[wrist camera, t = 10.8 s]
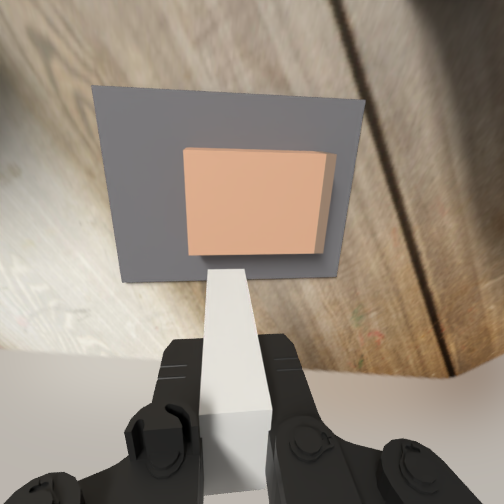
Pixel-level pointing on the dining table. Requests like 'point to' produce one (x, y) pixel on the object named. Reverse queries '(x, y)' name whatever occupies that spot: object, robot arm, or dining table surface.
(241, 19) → the dining table surface
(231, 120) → the mat
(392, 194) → the dining table surface
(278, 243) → the pink rectangular block
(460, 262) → the dining table surface
